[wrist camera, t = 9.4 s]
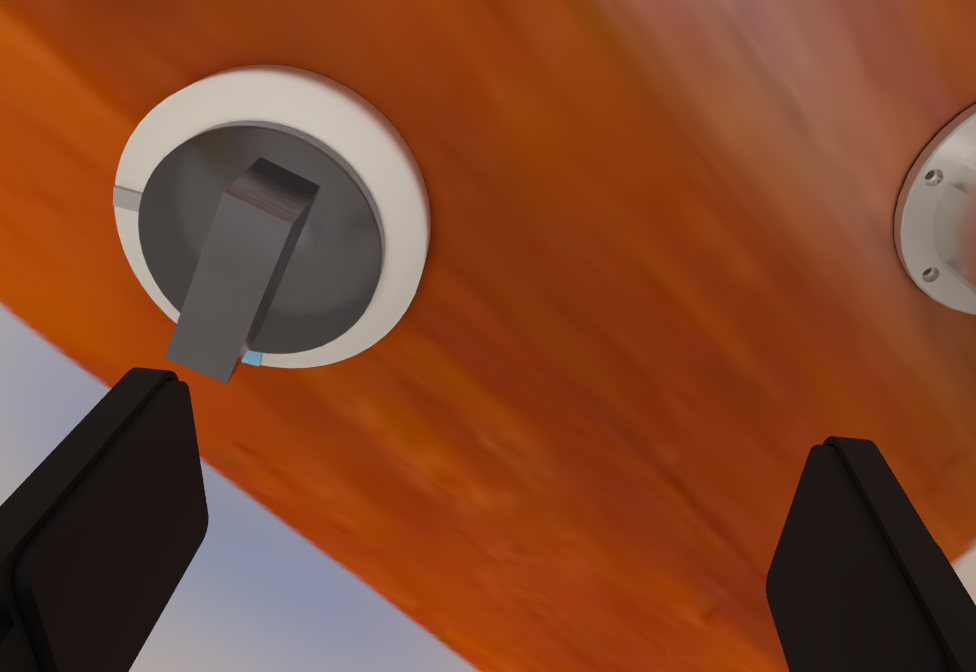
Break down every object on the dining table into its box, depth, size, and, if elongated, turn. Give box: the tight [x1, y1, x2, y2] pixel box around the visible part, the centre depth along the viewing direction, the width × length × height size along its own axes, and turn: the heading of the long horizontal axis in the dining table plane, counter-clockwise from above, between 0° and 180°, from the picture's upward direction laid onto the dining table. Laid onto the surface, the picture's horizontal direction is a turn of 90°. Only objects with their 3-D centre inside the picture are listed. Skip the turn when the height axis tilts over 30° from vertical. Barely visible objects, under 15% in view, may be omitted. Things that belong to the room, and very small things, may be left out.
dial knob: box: [138, 120, 385, 384], centre depth 36 cm, size 12×12×6 cm
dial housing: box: [113, 64, 431, 368], centre depth 40 cm, size 16×16×3 cm
